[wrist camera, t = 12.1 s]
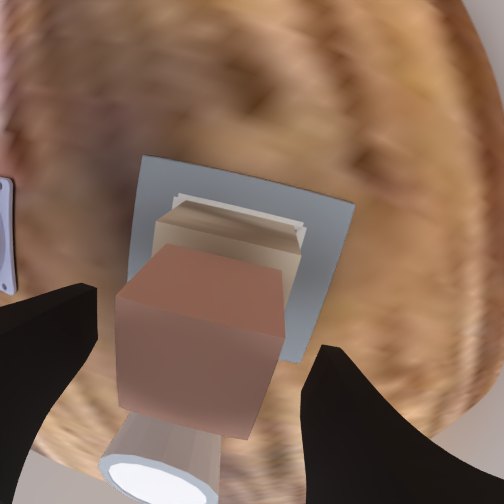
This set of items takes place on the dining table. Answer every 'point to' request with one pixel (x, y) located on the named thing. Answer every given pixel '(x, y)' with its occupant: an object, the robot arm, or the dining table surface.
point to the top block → (199, 340)
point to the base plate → (257, 204)
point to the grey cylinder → (163, 462)
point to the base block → (231, 237)
